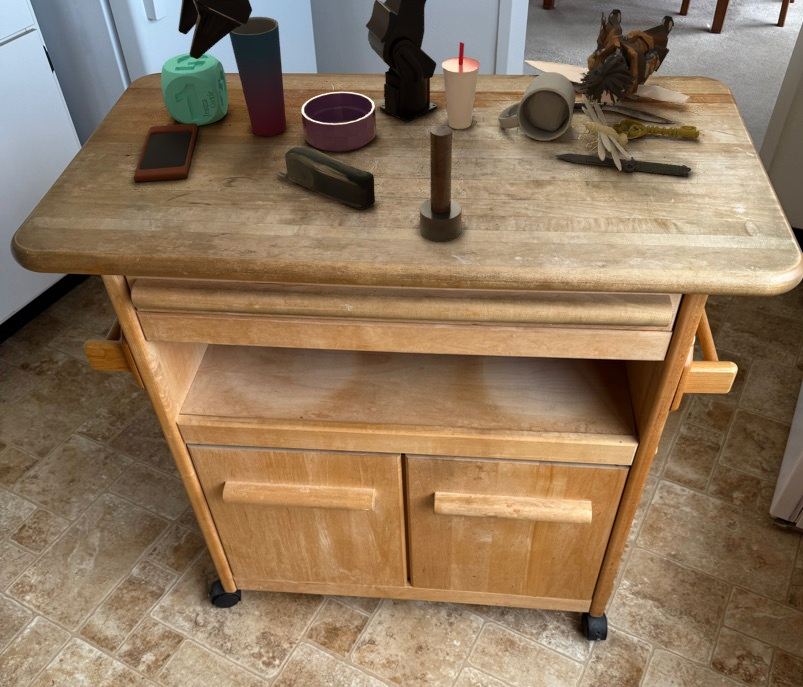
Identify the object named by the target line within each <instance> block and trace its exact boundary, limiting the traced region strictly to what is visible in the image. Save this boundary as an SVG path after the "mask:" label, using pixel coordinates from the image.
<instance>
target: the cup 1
mask: <svg viewBox="0 0 803 687" xmlns="http://www.w3.org/2000/svg"><path fill="white" fill-rule="evenodd" d="M228 35H229V39H230V43H231V46H232V50H233V55H234V59H235V64H236V68H237V71H238V75H239V80H240V84H241V88H242V92H243V96H244V101H245V105H246V110H247V113H248V117H249V121H250V125H251V130H252V133H254V134H256V135H257V136H262V137H271V136H276V135H279V134H281V133H283V132H284V131H285V130H286V129H287V119H286V118H287V117H286V105H285V93H284V92H285V91H284V79H283V68H282V67H283V66H282V65H283V64H282V55H281V53H282V52H281V41H280V40H281V39H280V29H279V22H278V21H277V19H274V18H272V17H268V16H250V17H249V19H248V21H247V24H242V25H241V26H240V27H236V28H235V29H234V30H232V31H231V32H230V33H229V34H228Z"/></svg>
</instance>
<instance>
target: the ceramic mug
mask: <svg viewBox="0 0 803 687" xmlns="http://www.w3.org/2000/svg"><path fill="white" fill-rule="evenodd" d="M572 83H573V82H572V81H571V80H569V79H568V78H566V77H565V76H564V75H562V74H559V73H556V72H543V73H541V74H539V75H537V76H536V77H534V78H533V79H532V80H531V81H530V82H529V84H528V85H527V87H526V89H525V91H524V94H523V95H522V97H521V99H520V101H519V102H516V103H513V104H511V105H509V106H508V107H506V108H505V109H503V110H502V111H501V112H500V113H499V114H498V120H497V121H498V122H499V124H500V126H501V127H502V129H506V130H507V129H508V130H509V129H514V128H517V127H519V128H520V129H521V131H522V132H523V134H525V135H526V136H527V137H529V138H531V139H532V140H535V141H541V142H548V141H553V140H556V139H558V138H560V137H561V136H562V135H564V134H565V132H566V131H567V130H568V129H569V127H570V126H571V123H572V120H573V114H574V110H575V109H574V104H575V103H576V91H575V90H574V88H573V85H572Z"/></svg>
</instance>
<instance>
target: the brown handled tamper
mask: <svg viewBox="0 0 803 687" xmlns="http://www.w3.org/2000/svg"><path fill="white" fill-rule="evenodd" d="M429 133H430V134H429V135H430V136H429V138H430V139H429V141H430V142H429V145H430V148H429V149H430V151H429V152H430V154H429V155H430V157H429V158H430V160H429V161H430V168H429V170H430V172H429V173H430V176H429V177H430V182H429V184H430V185H429V186H430V198H429V199H426V200H425V201H423V202H422V203H421V204H420V206H419V232H420V234H421V235H422V236H423V237H424V238H425V239H428V240H430V241H433V242H447V241H452V240H454V239H455V238H457V237H459V236H460V234H461V232H462V218H463V216H462V214H463V212H462V211H463V207H462V204H460V202H458V201H457V200H455V199H453V198H452V166H453V165H452V164H453V156H452V155H453V128H452V127H450V126H447V125H435V126H433V127H432V128H431V129H430V131H429Z"/></svg>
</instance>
